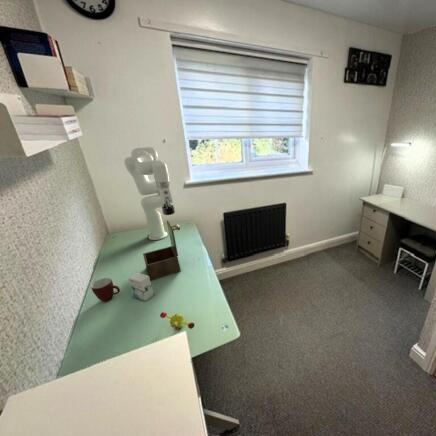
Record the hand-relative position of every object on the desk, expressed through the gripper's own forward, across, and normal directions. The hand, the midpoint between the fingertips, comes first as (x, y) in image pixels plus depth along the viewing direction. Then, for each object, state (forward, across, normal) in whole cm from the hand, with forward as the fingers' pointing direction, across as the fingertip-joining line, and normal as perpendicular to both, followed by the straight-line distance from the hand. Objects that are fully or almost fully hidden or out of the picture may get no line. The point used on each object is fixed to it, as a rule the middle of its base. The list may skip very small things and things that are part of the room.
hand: (168, 212), depth 145 cm
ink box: (+30, -33, +23) cm, 50 cm away
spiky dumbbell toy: (+30, -64, +14) cm, 72 cm away
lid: (+11, -14, +3) cm, 18 cm away
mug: (+30, -26, +37) cm, 54 cm away
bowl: (+1, 0, 0) cm, 1 cm away
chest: (+30, -14, +11) cm, 35 cm away
